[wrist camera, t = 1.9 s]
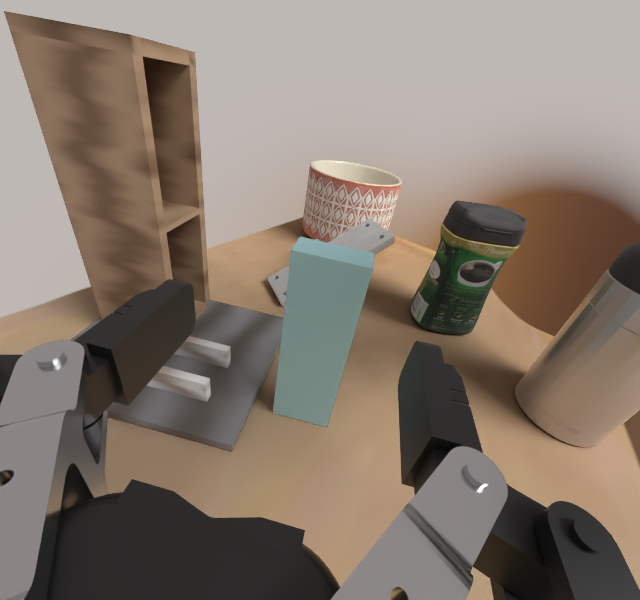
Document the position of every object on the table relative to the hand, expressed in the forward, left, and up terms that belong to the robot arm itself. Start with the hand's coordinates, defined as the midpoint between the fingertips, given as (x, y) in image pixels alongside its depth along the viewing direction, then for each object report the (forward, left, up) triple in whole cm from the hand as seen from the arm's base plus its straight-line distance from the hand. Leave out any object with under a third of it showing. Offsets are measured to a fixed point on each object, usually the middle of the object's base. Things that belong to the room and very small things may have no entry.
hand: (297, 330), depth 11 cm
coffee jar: (-37, -6, -20) cm, 43 cm away
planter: (-46, -36, -20) cm, 62 cm away
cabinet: (-3, -21, -20) cm, 29 cm away
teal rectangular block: (-9, -7, -20) cm, 23 cm away
